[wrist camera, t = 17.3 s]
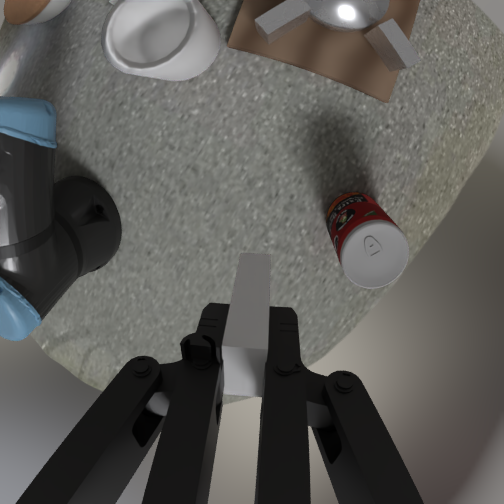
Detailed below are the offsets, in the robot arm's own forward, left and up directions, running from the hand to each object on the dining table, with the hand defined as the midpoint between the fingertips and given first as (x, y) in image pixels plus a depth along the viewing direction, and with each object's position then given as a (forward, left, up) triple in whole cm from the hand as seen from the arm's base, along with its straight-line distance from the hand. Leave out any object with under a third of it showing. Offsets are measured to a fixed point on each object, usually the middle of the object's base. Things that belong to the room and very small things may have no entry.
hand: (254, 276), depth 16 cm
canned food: (+13, -2, -25) cm, 28 cm away
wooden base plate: (+1, +24, -24) cm, 34 cm away
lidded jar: (-38, +20, -25) cm, 50 cm away
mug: (-16, +14, -25) cm, 33 cm away
